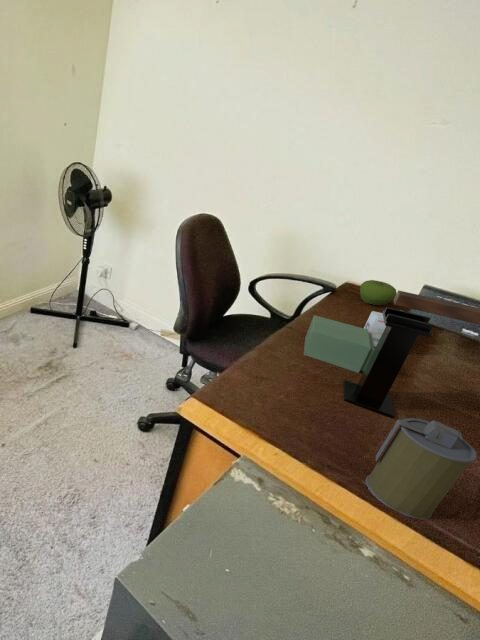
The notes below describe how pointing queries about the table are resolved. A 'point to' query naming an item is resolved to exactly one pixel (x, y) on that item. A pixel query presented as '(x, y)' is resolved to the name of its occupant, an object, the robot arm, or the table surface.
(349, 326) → the cabinet
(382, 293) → the apple
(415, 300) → the rod
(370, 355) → the drawer
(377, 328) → the ink box
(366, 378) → the stand
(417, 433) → the canister
